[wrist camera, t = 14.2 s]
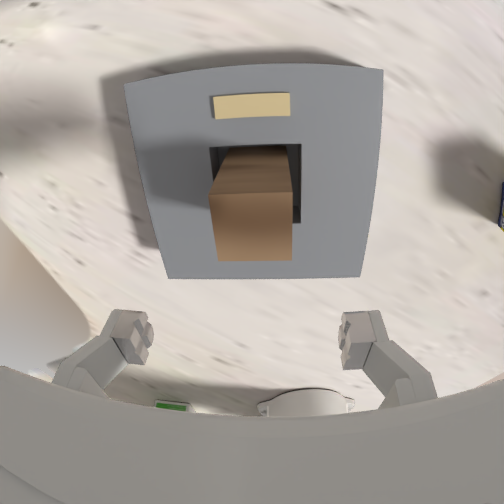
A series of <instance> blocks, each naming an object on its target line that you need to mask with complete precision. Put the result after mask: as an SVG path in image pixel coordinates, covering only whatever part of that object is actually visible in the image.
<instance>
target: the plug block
mask: <svg viewBox="0 0 504 504" xmlns="http://www.w3.org/2000/svg"><path fill="white" fill-rule="evenodd" d="M208 199H209V206H210V213H211V219H212V226H213V232H214V238H215V245H216V251H217V257H218V261H292V222H293V191H292V184H291V177H290V170H289V163H288V156H287V150H286V146H253V147H233V148H229V150H228V152H227V154H226V156H225V159H224V161H223V163H222V165H221V167H220V169H219V172H218V174H217V176H216V178H215V180H214V182H213V185H212V187H211V189H210V191H209V194H208Z"/></svg>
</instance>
